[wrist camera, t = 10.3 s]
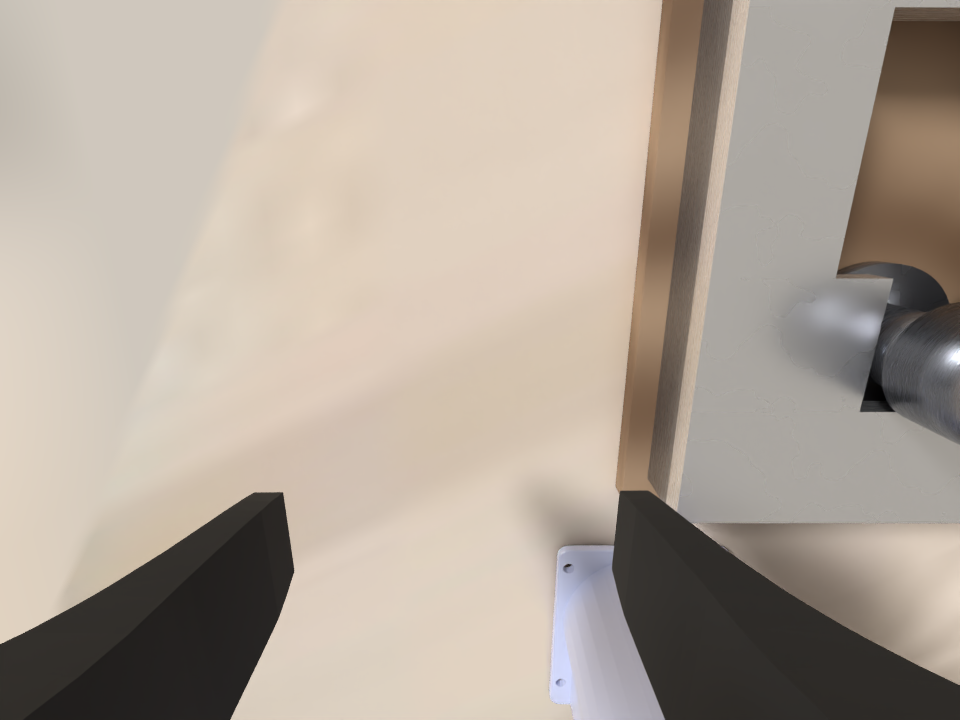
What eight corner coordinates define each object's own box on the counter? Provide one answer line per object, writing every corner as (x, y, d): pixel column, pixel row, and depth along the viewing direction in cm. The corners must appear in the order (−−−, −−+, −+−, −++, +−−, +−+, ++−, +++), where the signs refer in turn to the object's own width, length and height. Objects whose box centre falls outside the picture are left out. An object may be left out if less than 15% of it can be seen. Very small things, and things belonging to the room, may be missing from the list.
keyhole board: (991, 486, 22) (1014, 498, 21) (615, 485, 22) (621, 498, 21) (1203, -103, 16) (1249, -123, 15) (672, -105, 16) (685, -125, 15)
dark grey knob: (909, 402, 20) (1180, 525, 12) (771, 401, 20) (956, 523, 12) (951, 262, 18) (1295, 303, 10) (800, 260, 18) (1036, 300, 10)
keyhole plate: (998, 478, 21) (1085, 523, 18) (647, 478, 21) (675, 523, 18) (1201, -82, 15) (1379, -153, 12) (714, -84, 15) (772, -156, 12)
